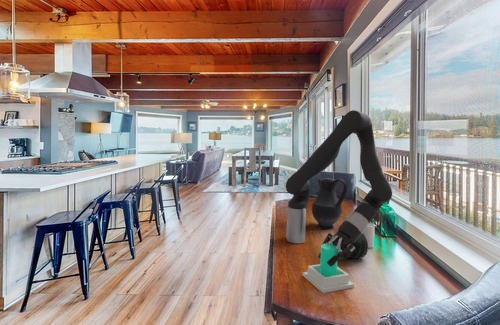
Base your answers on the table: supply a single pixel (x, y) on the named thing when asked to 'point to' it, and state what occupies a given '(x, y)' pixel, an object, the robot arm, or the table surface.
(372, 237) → the mug
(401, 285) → the table surface
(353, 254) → the squash
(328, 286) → the candle stand
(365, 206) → the robot arm
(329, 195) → the pitcher
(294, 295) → the table surface
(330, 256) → the candle
